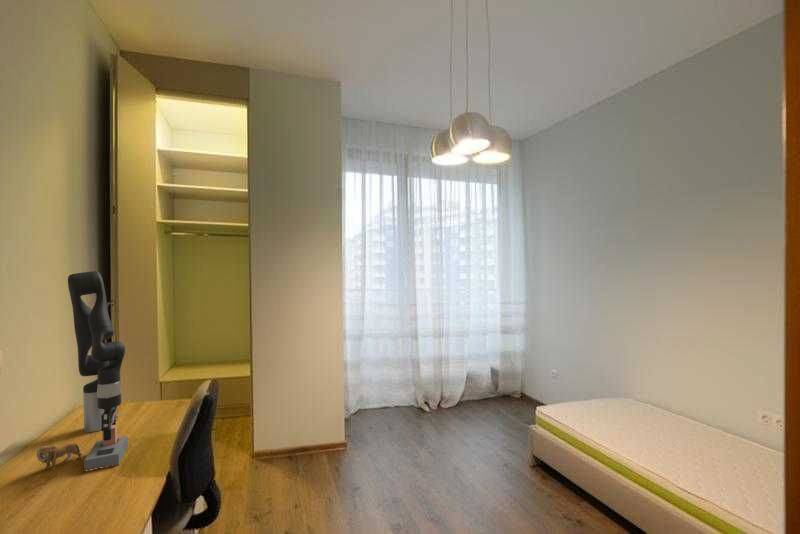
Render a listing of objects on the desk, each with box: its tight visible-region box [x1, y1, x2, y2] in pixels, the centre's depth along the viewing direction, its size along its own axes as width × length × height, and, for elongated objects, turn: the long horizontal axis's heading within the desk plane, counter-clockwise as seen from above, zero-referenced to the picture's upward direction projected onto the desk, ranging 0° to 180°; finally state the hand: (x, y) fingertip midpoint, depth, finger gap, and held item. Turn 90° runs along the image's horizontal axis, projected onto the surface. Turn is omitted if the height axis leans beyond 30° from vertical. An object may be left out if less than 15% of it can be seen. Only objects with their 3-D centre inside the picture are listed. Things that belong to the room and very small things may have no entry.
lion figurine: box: [36, 442, 83, 471], centre depth 145 cm, size 15×5×9 cm, turn 165°
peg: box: [101, 424, 118, 446], centre depth 154 cm, size 4×4×10 cm
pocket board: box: [83, 435, 129, 472], centre depth 150 cm, size 18×10×4 cm, turn 26°
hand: (109, 435), depth 154 cm, fingers open, 8 cm apart
